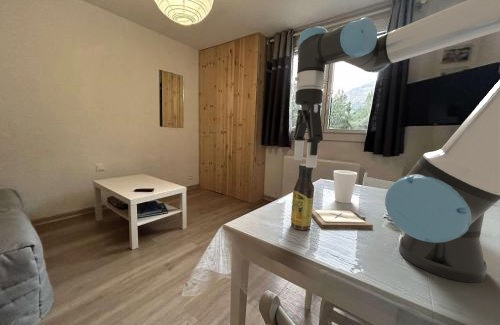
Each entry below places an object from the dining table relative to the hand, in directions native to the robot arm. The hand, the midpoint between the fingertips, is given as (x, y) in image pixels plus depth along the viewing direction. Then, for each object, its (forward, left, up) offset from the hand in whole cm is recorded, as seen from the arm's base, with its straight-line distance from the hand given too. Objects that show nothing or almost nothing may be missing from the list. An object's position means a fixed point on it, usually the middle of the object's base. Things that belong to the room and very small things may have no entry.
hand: (304, 163), depth 63 cm
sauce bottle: (0, 0, -20) cm, 20 cm away
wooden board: (+6, -15, -20) cm, 26 cm away
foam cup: (+27, -26, -20) cm, 43 cm away
